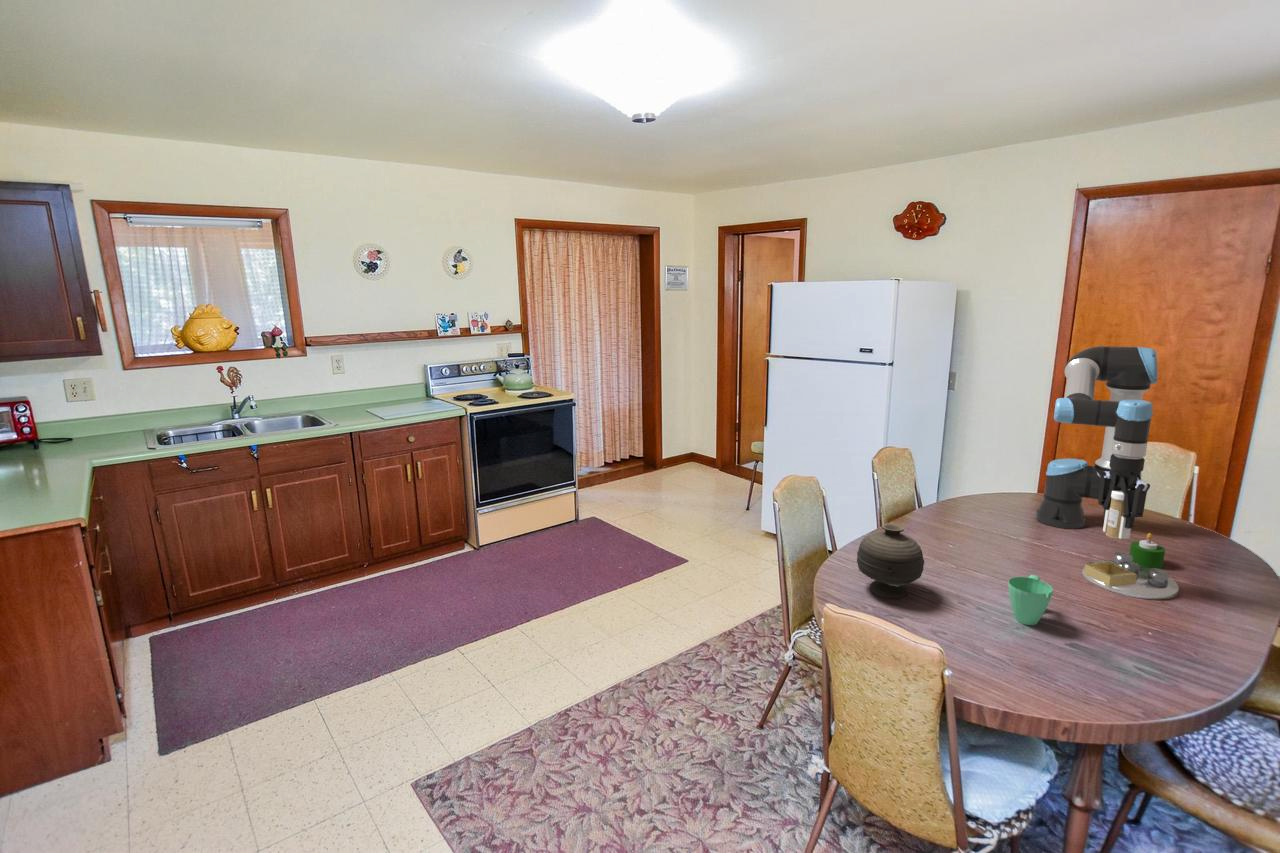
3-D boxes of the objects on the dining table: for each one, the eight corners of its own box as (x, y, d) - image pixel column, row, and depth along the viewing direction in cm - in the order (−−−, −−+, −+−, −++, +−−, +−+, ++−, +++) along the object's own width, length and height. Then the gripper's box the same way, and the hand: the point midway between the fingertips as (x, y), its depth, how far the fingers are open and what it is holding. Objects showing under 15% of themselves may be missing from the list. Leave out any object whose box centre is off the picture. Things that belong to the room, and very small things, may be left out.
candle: (1163, 562, 193) (1168, 532, 191) (1161, 571, 187) (1166, 540, 185) (1129, 555, 198) (1134, 526, 196) (1126, 563, 192) (1131, 533, 190)
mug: (1046, 634, 154) (1051, 598, 152) (1001, 622, 160) (1005, 587, 158) (1052, 610, 165) (1056, 576, 163) (1009, 600, 171) (1013, 566, 169)
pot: (869, 567, 192) (878, 508, 186) (928, 591, 179) (940, 528, 174) (841, 588, 180) (849, 526, 174) (902, 615, 167) (913, 548, 162)
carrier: (1064, 568, 190) (1066, 551, 189) (1128, 562, 193) (1130, 546, 192) (1128, 602, 169) (1131, 584, 168) (1199, 596, 171) (1202, 577, 170)
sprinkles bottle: (1128, 540, 174) (1135, 495, 171) (1109, 538, 175) (1115, 493, 173) (1121, 534, 178) (1128, 490, 176) (1102, 533, 180) (1109, 488, 177)
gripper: (1089, 448, 180) (1078, 524, 185) (1145, 464, 163) (1131, 547, 168) (1112, 447, 181) (1101, 522, 186) (1170, 463, 164) (1156, 545, 169)
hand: (1115, 534), depth 177 cm, fingers closed on sprinkles bottle, 4 cm apart
